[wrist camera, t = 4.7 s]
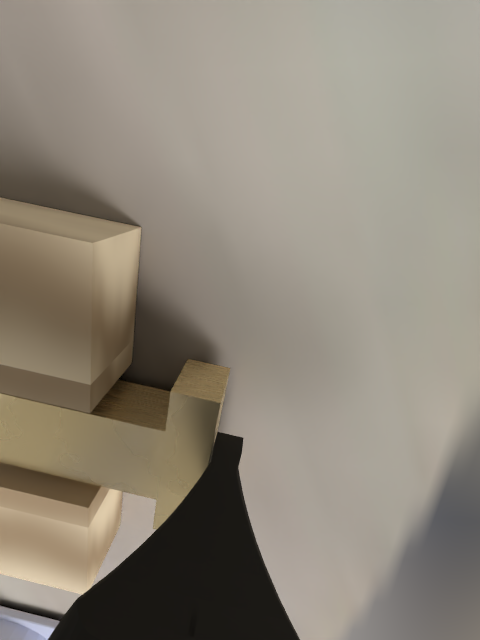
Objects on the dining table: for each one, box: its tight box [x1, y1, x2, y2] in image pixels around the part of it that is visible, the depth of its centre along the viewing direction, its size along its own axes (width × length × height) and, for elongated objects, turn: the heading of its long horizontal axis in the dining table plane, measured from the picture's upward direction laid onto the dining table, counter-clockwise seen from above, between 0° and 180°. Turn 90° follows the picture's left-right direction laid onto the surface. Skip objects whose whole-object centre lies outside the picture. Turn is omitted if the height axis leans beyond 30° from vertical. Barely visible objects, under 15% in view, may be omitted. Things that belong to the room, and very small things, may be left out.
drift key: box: [0, 359, 230, 530], centre depth 12 cm, size 6×8×2 cm
